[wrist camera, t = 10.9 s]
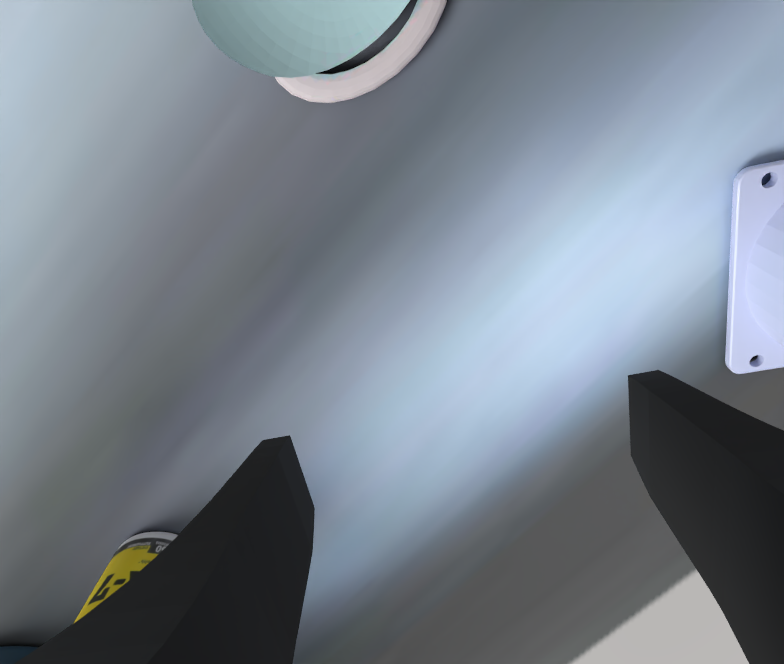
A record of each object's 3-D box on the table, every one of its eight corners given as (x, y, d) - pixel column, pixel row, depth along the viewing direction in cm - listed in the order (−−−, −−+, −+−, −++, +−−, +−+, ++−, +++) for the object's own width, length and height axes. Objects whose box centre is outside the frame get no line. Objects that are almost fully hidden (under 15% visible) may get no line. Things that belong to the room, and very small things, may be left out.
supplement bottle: (213, 532, 27) (140, 714, 20) (215, 602, 29) (150, 792, 22) (110, 523, 27) (-2, 703, 20) (120, 594, 29) (21, 782, 22)
